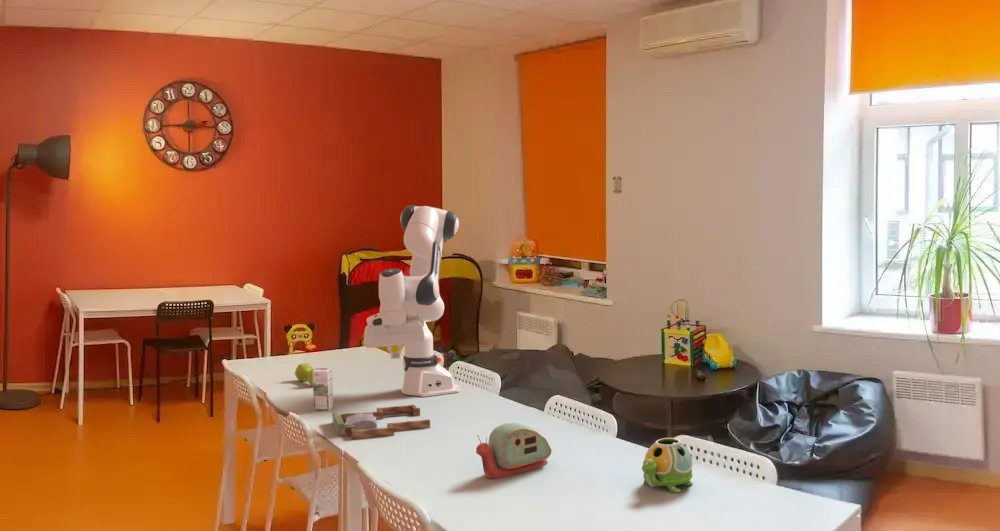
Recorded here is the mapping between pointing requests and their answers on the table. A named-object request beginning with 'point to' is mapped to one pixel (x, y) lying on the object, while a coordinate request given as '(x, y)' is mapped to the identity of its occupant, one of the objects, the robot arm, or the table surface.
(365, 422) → the stone block
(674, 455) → the turtle holder
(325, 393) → the syrup box
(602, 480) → the table surface
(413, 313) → the robot arm
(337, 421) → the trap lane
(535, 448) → the toy snail
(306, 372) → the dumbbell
